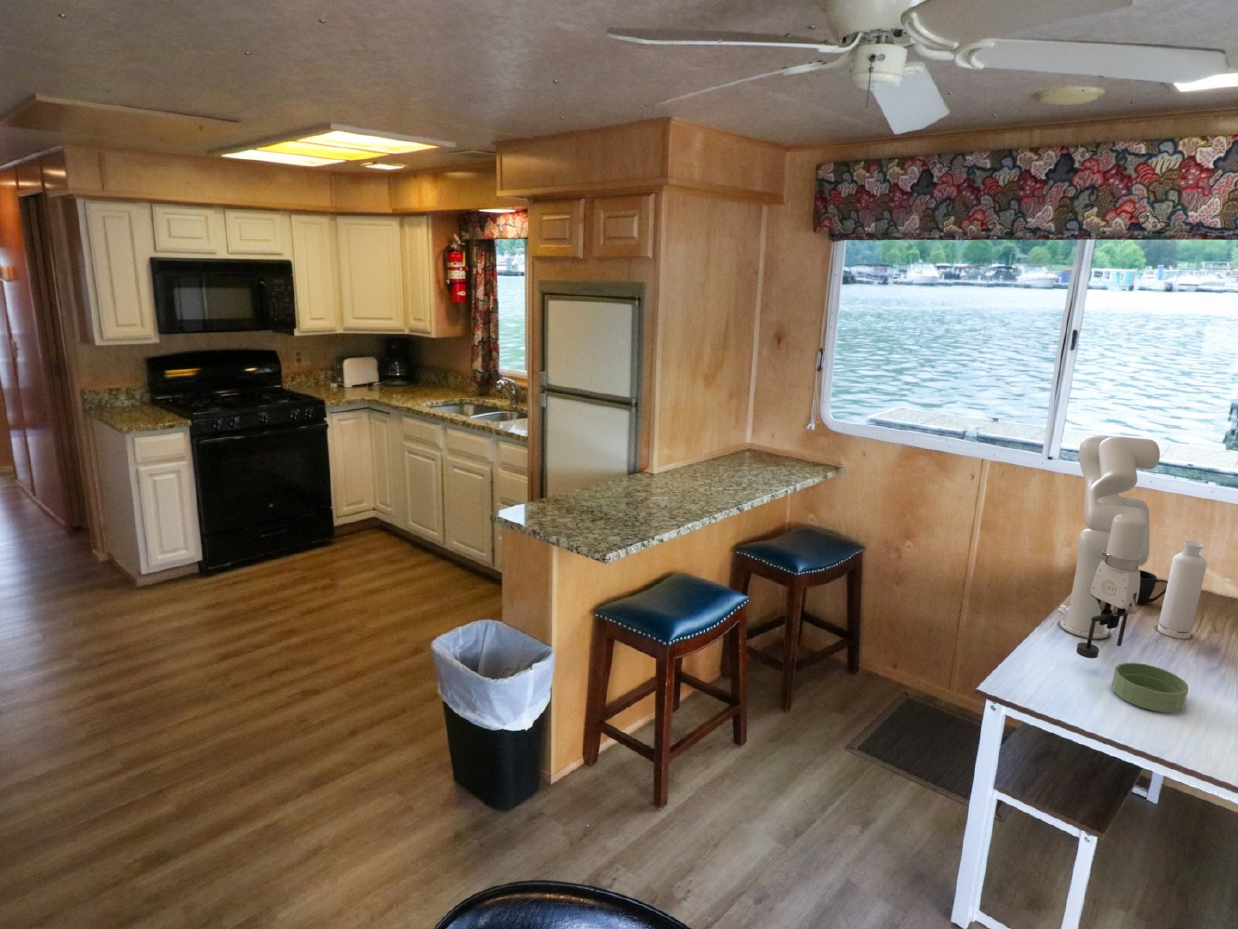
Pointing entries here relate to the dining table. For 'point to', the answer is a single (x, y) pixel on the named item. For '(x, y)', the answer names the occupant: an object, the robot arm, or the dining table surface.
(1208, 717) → the dining table surface
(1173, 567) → the bottle
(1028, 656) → the dining table surface
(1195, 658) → the dining table surface
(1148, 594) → the mug
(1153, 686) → the bowl
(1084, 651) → the ladle
